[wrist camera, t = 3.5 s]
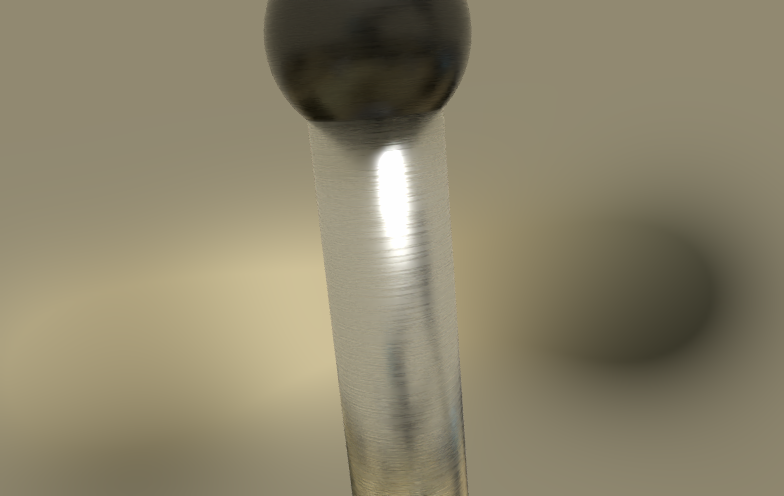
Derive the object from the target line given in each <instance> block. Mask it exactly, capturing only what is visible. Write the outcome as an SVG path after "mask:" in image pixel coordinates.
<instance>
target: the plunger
mask: <svg viewBox="0 0 784 496" xmlns="http://www.w3.org/2000/svg"><path fill="white" fill-rule="evenodd" d="M264 43H265V50H266V55H267V60H268V63H269V66H270V69H271V72H272V75H273V77H274V79H275V81H276V83H277V85H278V87H279V89H280V90H281V92H282V93H283V95H284V97H285V98H286V99H287V101H288V102H289V103H290V104H291V105H292V107H293V108H294V109H295V110H296V111H297V112H299V114H301V115H302V116H303V117H304V118H305V119H306V120H307V122H308V130H309V139H310V147H311V155H312V164H313V172H314V180H315V189H316V197H317V206H318V214H319V222H320V231H321V239H322V247H323V256H324V263H325V272H326V281H327V289H328V297H329V305H330V314H331V322H332V330H333V338H334V347H335V356H336V364H337V373H338V380H339V389H340V397H341V406H342V414H343V423H344V431H345V439H346V448H347V456H348V464H349V472H350V481H351V489H352V496H468V481H467V466H466V451H465V434H464V419H463V404H462V389H461V374H460V358H459V342H458V327H457V313H456V297H455V282H454V266H453V251H452V237H451V220H450V206H449V189H448V175H447V159H446V143H445V128H444V114H443V107H444V106H445V105H446V104H447V103H448V101H449V100H450V99H451V97H452V96H453V94H454V93H455V91H456V89H457V88H458V86H459V84H460V82H461V80H462V77H463V75H464V72H465V70H466V66H467V63H468V59H469V54H470V46H471V20H470V13H469V8H468V4H467V0H268V3H267V7H266V13H265V20H264Z"/></svg>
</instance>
